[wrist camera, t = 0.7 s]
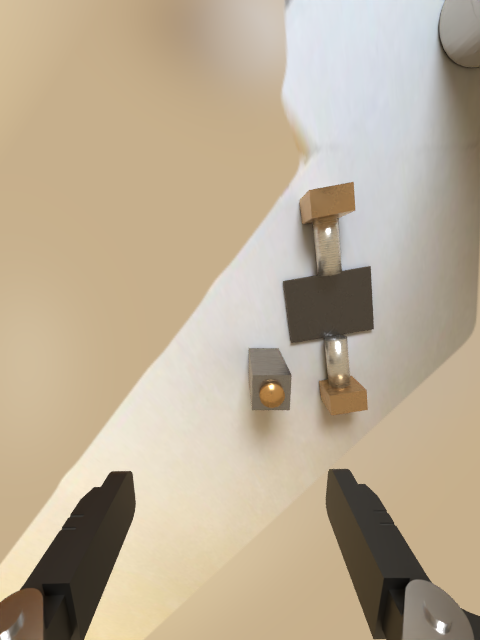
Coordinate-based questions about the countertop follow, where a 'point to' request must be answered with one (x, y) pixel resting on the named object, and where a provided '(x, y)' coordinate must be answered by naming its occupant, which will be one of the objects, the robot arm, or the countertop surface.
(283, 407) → the gold-capped grey pillar
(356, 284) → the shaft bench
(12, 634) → the robot arm
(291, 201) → the countertop surface
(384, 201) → the countertop surface
